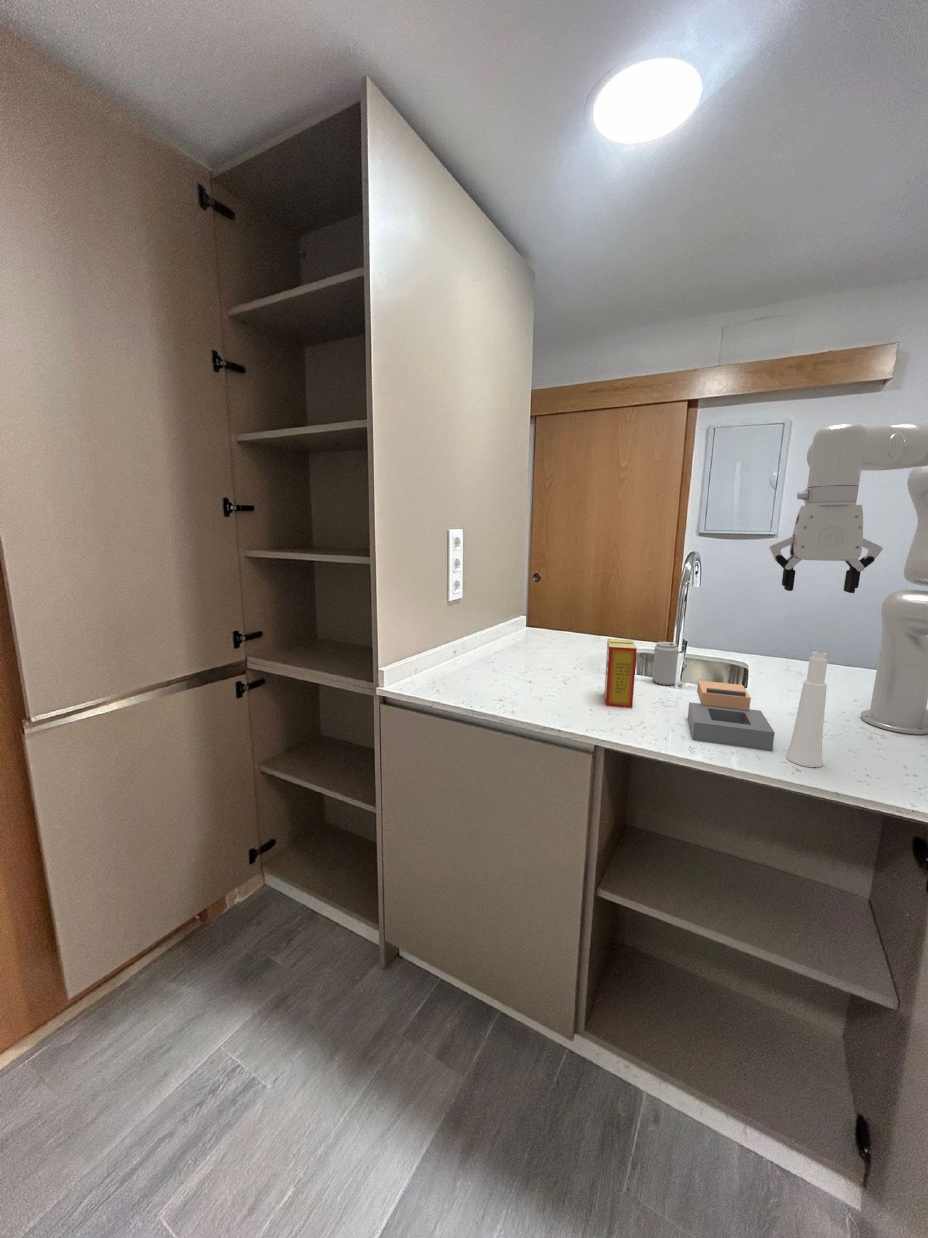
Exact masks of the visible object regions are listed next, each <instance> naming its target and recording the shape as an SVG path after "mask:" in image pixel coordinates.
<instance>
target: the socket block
mask: <svg viewBox="0 0 928 1238" xmlns="http://www.w3.org/2000/svg"><path fill="white" fill-rule="evenodd" d="M687 712H688V713H687V721H688V725H689V730H690V734H691V738H692V740H693V741H700V742H707V743H713V744H714V743H715V744H721V745H722V744H723V745H729V746H736V747H743V748H749V749H750V748H751V749H756V750H765V751H771V752H773V747H774V740H775V734H776V733H775V731H774V729H773V727H772V726H771V724H770V723H769V721H768V720H767V718H766V717H765V715H764V713H763V712H762V710H758V709H749V710H742V709H733V708H725V707H716V706H707V705H701V703H698V702H690V701H689V703H688V711H687Z"/></svg>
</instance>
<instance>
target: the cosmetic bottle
mask: <svg viewBox="0 0 928 1238" xmlns="http://www.w3.org/2000/svg"><path fill="white" fill-rule="evenodd" d="M827 655H828V654H827V653H826V652H823V651H812V652H811V656H810V657H809V660H808V667H807V668H808V669H807V675H806V679H805V680H803V683H802V687H801V693H800V698H799V702H798V707H797V712H796V718H795V723H794V727H793V731H792V735H791V738H790V743H789V744H788V745H789V746H788V748H787V752H786V753H785V758H786V759H787V760H788V761H789V762H791V763H793V764H795V765H799V766H802V767H804V768H805V767H806V768H813V767H816V768H821V767H822V766H823V765H824V760H823V737H824V736H823V734H824V733H823V732H824V723H825V713H826V711H825V710H826V700H827V687H828V685H827V683H826V682H825V681H826V675H827V673H826V672H827V667H828V658H827Z"/></svg>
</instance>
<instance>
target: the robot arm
mask: <svg viewBox="0 0 928 1238" xmlns="http://www.w3.org/2000/svg"><path fill="white" fill-rule="evenodd" d="M806 453H807V454H806V462H807V466H808V467H809V469H808V470H809V472H808V478H807V486H806V488H805V490H803V491H798V492H797V494H796V500H801V501H803V503H804V505H801V506H800V508H799V510H798V513H797V516H796V518H795V519H796V520H795V523H794V526H793V531H792V536H791V537H788V538H786V539H784V540H780V541H778V542H776V543H774V544H772V545H770V546H769V550H770V552H771V554H772V557H773V559H774V561H776V563H777V564H778V565H780V567H781V568H782V569H783V571H782V577H781V579H782V580H781V586H783V588H784V590H785V591H787V592H792V591H794V586H795V577H796V576H795V575H796V570H795V569H794V567H796V565H797V564H798V563H799V564H800V562H801V561H802V560H804V561H822V562H824V561H827V562H831V561H832V562H835V561H836V562H845V564H846V565H847V566H848V567H849V569H846V571H845V577H844V584H843V585H844V586H843V591H844V592H846V593H847V594H855V592H856V589H858V588H859V585H860V578H861V573H862V572H863V571H864V570H865V568H867V567H869V566H870V565H871V564H872V563H874V562H875V559H876V558H877V557H878V556H879V555H880V554H881V553H882V551H883V550H884V549H883V546H881V545H879V544H877V543H875V542H872V541H871V540H868V539H866V538H864V511H863V505H862V504H857V501H858V500H857V499H858V495H859V487H860V481H861V480H860V479H861V474H862V472H863V471H889V470H890V471H891V470H903V469H910V468H912V469H911V471H910V473H909V474H908V477H907V484H906V485H907V490H908V494H909V496H910V499H911V501H912V504H913V507H914V510H915V513H916V516H917V525H916V529H915V533H914V535H913V539H912V541H911V545H910V547H909V550H908V553H907V557H906V560H905V563H904V568H903V577H904V579H905V580H906V581H907V582H908V583H911V584H914V585H918V586H923V587H928V422H922V423H921V422H919V423H917V422H915V423H911V422H909V423H901V424H894V425H876V426H875V425H874V426H864V425H862V424H857V423H843V424H834V425H830V426H824V427H823V428H820V429H818V430H817V431H816V432H815V434H814V436H813V441H812V442H811V444H810V445H809V447H808V450H807V452H806ZM787 547H789V555H790V556H789V557H788V558H787V559H786V557H784V556H783V554H782V552H781V551H782V549H784V548H787ZM863 549H866V550H867V553H866V555H865V556H863V557H861V555H862V550H863ZM860 557H861V559H859V558H860ZM880 610H881V613H880V615H881V642H880V649H879V654H878V659H877V660H878V661H877V666H876V667H877V668H876V672H875V679H874V683H873V691H872V696H871V702H870V708H869V709H865V710H862V711H861V712H860V719H861V720H862V721H864V722H865V723H867V724H869V725H872V726H874V727H877V728H880V729H883V730H887V731H890V732H891V731H892V732H896V733H901V734H909V735H927V734H928V709H927V705H928V637H927V636H928V591H927V590H919V589H918V590H917V589H902V590H901V589H900V590H897V591H894V592H892V593H889V594H888V595H887V596H886V597H885V598H884V599H883V601H882V603H881V609H880Z"/></svg>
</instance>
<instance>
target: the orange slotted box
mask: <svg viewBox="0 0 928 1238" xmlns="http://www.w3.org/2000/svg"><path fill="white" fill-rule="evenodd" d="M696 693H697V695H698V699H699V702H700V703H699V704H701V705H707V706H716V707H725V708H733V709H742V710H749V709H750V708H751V700H752V698H751V695H750V694H749V693H748V691H747V690H746V688H745V687H744V685H743V684H737V683H727V682H718V681H717V682H716V681H707V680H697V688H696Z"/></svg>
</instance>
